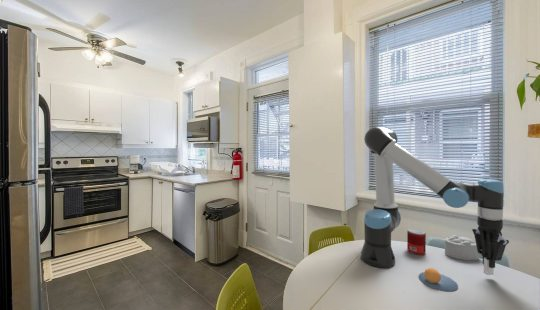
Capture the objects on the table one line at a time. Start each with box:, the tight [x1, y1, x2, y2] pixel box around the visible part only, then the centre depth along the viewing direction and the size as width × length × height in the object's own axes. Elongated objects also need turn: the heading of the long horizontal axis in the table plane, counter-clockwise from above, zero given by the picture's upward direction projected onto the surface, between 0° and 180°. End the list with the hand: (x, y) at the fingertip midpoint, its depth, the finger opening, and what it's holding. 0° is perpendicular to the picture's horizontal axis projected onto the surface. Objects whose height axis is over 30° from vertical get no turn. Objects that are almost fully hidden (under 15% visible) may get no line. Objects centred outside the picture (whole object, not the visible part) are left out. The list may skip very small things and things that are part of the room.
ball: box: [423, 267, 441, 283], centre depth 93 cm, size 6×6×6 cm
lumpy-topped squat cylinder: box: [444, 234, 479, 261], centre depth 115 cm, size 10×13×9 cm
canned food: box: [406, 227, 427, 256], centre depth 119 cm, size 8×8×11 cm
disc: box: [418, 271, 459, 292], centre depth 94 cm, size 13×13×1 cm
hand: (488, 273), depth 95 cm, fingers closed
